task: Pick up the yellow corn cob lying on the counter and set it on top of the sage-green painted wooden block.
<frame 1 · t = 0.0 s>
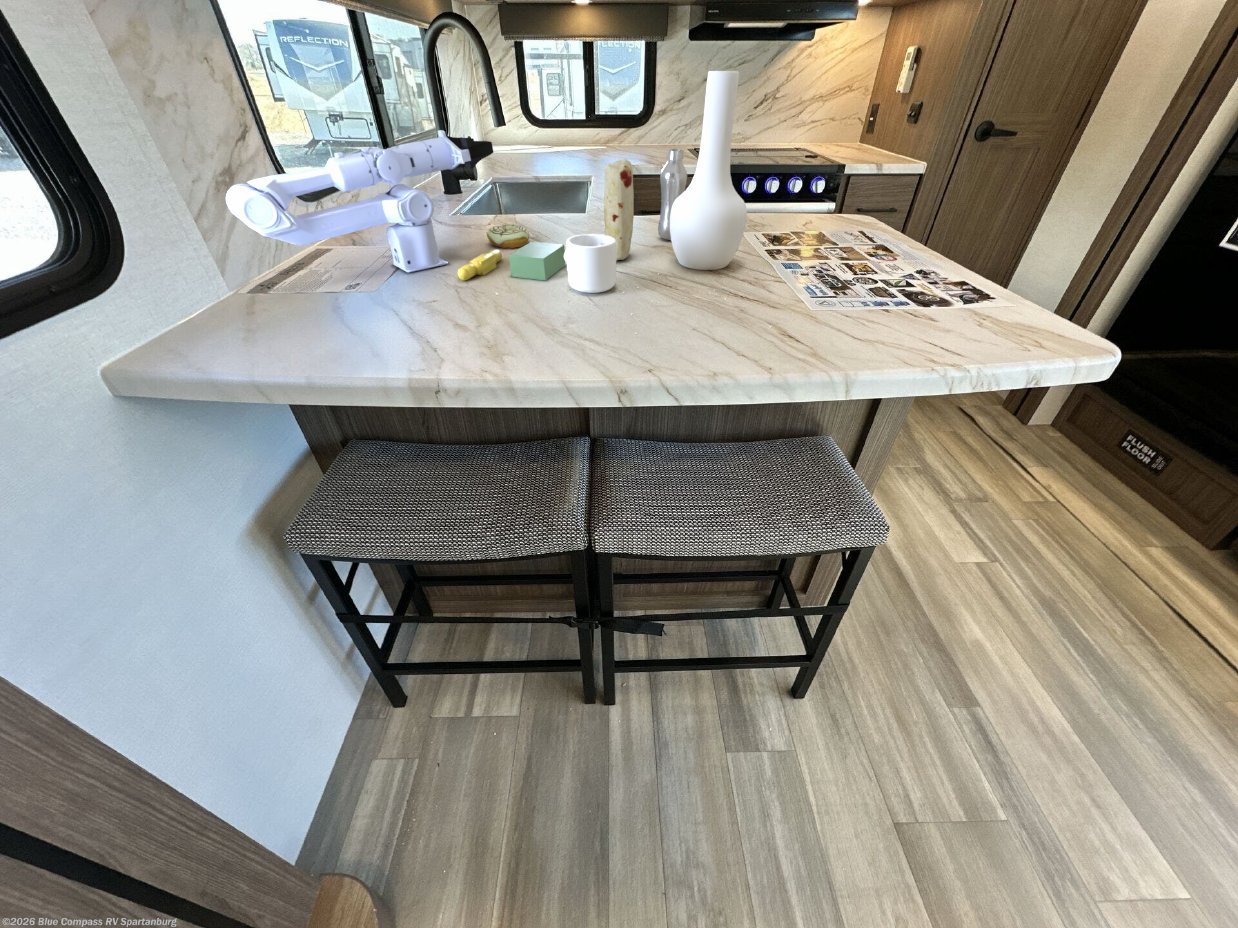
hand: (482, 145, 111), 22 cm above the countertop, tool horizontal, fingers open, 7 cm apart
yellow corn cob: (484, 270, 111), on the countertop
mug: (593, 286, 104), on the countertop
plastic bottle: (670, 240, 132), on the countertop
food model: (618, 258, 120), on the countertop
decorated donut: (509, 244, 128), on the countertop
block: (539, 271, 111), on the countertop
vase: (703, 263, 117), on the countertop
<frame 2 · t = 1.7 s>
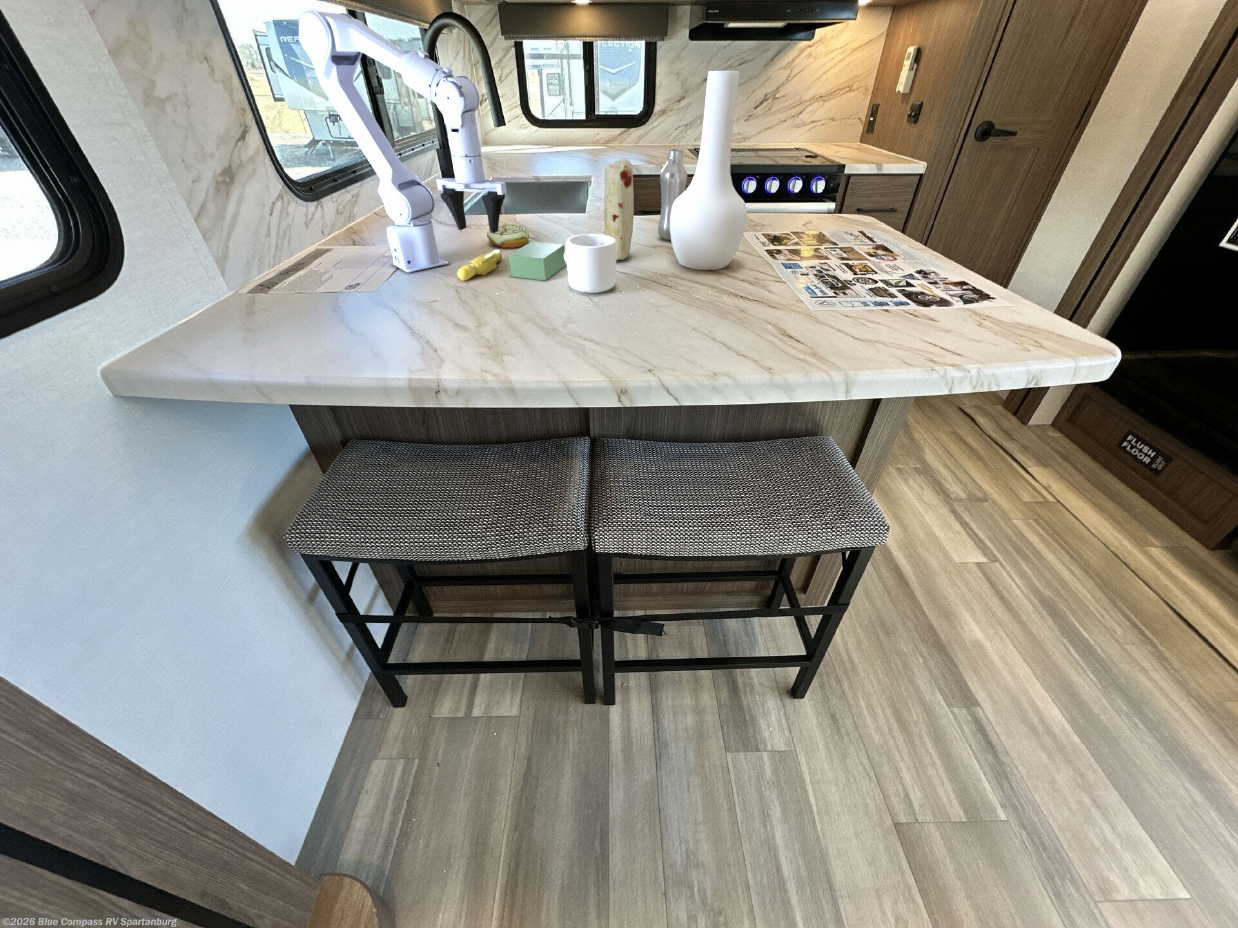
hand: (478, 230, 106), 8 cm above the countertop, tool pointing down, fingers open, 7 cm apart
nothing on the countertop moved.
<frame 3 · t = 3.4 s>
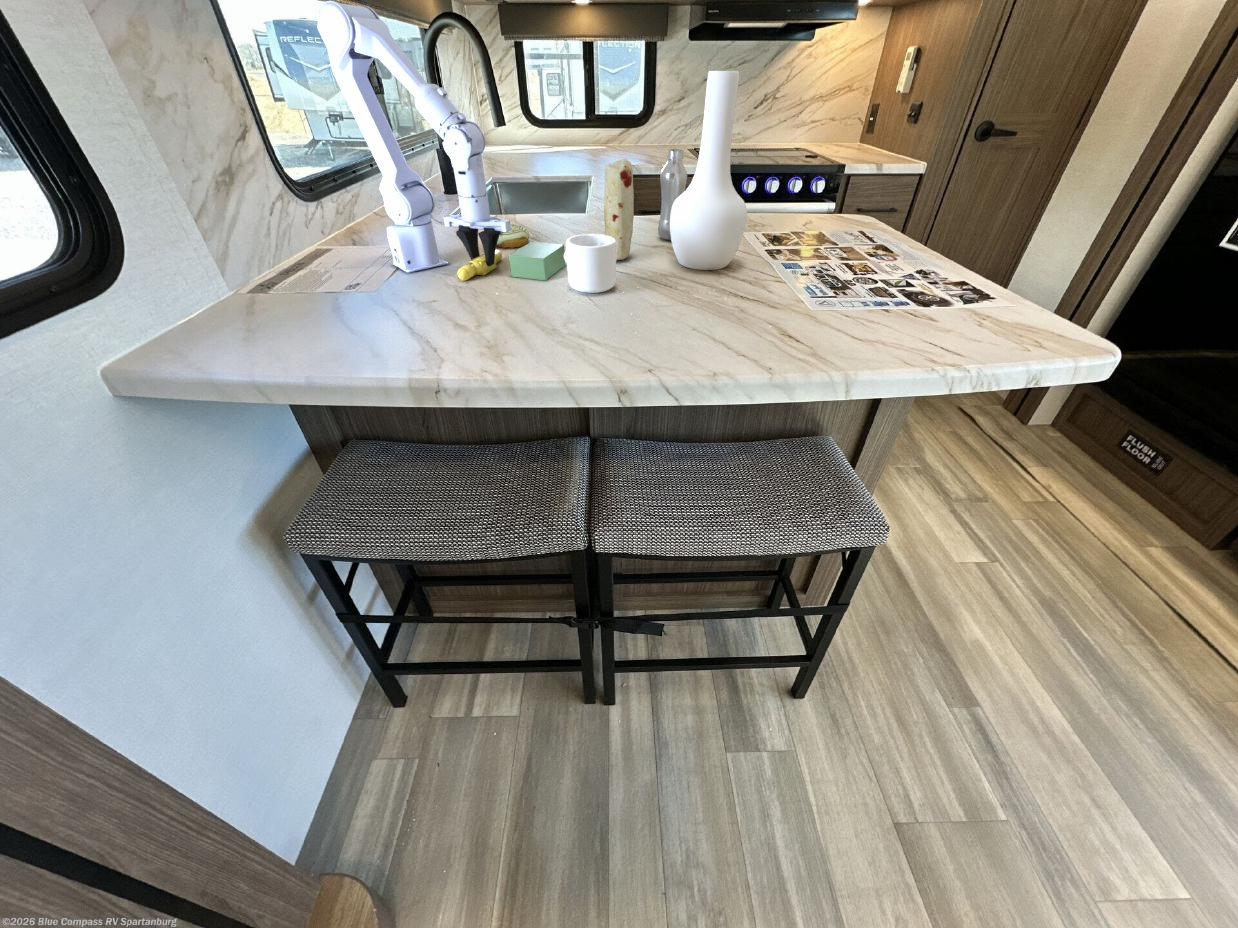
hand: (483, 264, 110), 1 cm above the countertop, tool pointing down, fingers closed on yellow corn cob, 3 cm apart
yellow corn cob: (484, 270, 111), on the countertop, touching gripper
everything else where it was.
when the fingers open (6 cm above the countertop, at t = 7.1 s): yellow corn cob stays where it is, resting on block.
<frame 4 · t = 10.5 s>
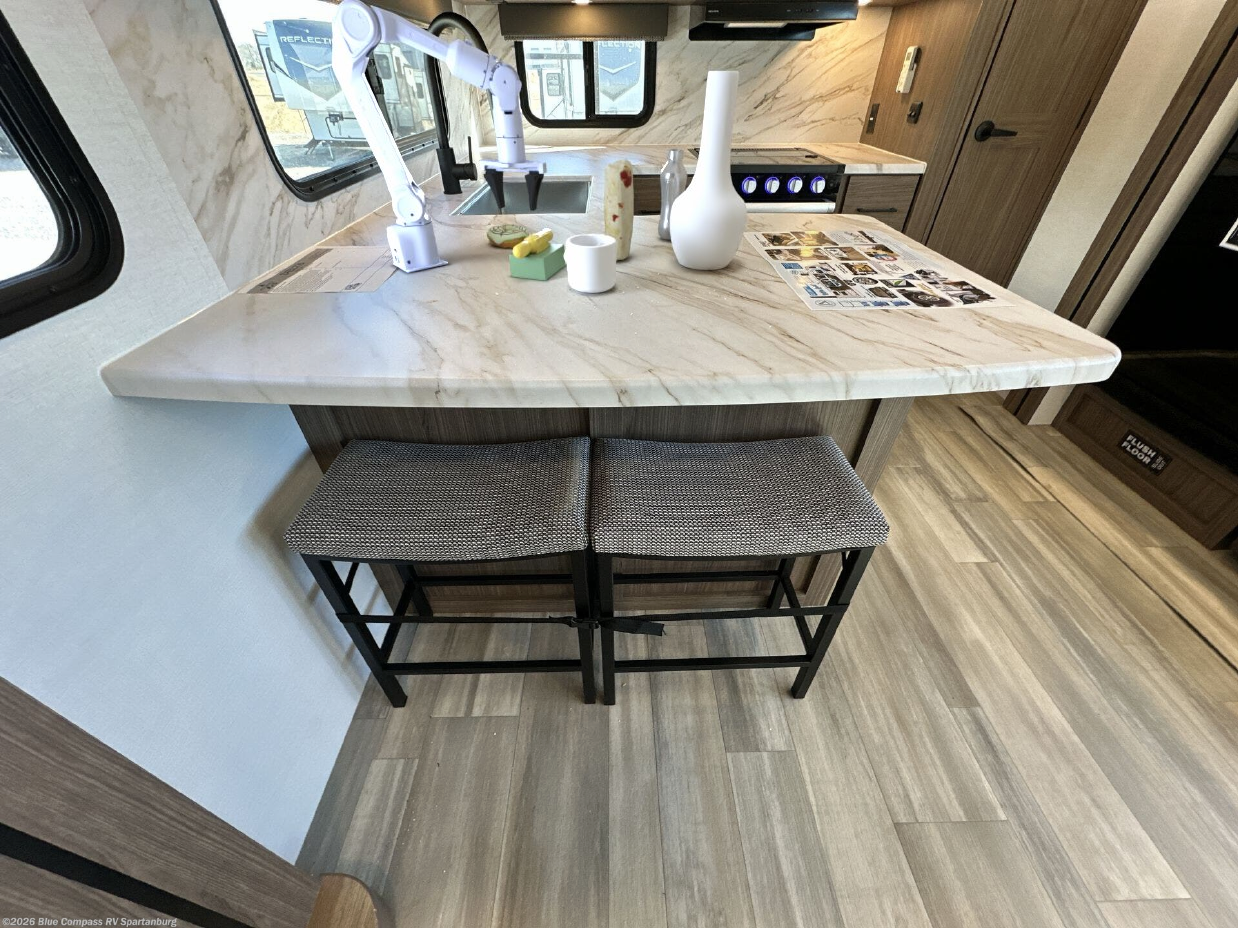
hand: (517, 209, 113), 10 cm above the countertop, tool pointing down, fingers open, 7 cm apart
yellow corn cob: (537, 249, 108), point 4 cm above the countertop, touching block
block: (539, 271, 111), on the countertop, touching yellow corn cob
everything else where it was.
at the end: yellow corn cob inside the target area on the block (0.0 cm from its centre), point 4.5 cm above the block's base; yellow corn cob touching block; the gripper is holding nothing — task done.
